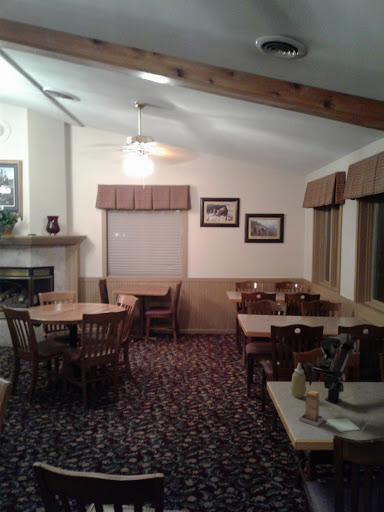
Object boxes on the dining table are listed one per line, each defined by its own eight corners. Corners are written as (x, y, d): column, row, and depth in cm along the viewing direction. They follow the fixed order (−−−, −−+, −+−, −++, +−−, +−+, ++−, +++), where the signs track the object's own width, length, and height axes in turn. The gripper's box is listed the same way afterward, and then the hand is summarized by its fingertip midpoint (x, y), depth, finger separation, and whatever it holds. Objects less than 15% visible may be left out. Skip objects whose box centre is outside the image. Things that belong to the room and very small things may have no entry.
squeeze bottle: (288, 393, 210) (289, 360, 209) (302, 393, 211) (303, 360, 209) (293, 399, 202) (294, 366, 201) (308, 399, 203) (309, 365, 201)
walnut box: (308, 416, 182) (310, 389, 181) (318, 420, 179) (319, 392, 178) (305, 420, 178) (306, 392, 178) (314, 423, 176) (315, 395, 175)
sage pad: (327, 421, 179) (327, 419, 179) (346, 420, 181) (346, 418, 181) (339, 432, 169) (339, 430, 169) (359, 431, 171) (360, 428, 171)
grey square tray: (306, 415, 185) (306, 411, 185) (324, 420, 179) (324, 416, 179) (299, 421, 178) (299, 417, 178) (317, 427, 173) (317, 423, 173)
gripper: (306, 347, 193) (296, 374, 185) (344, 355, 181) (335, 384, 174) (311, 358, 200) (302, 385, 192) (348, 367, 188) (340, 396, 180)
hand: (319, 387), depth 184 cm, fingers open, 9 cm apart
